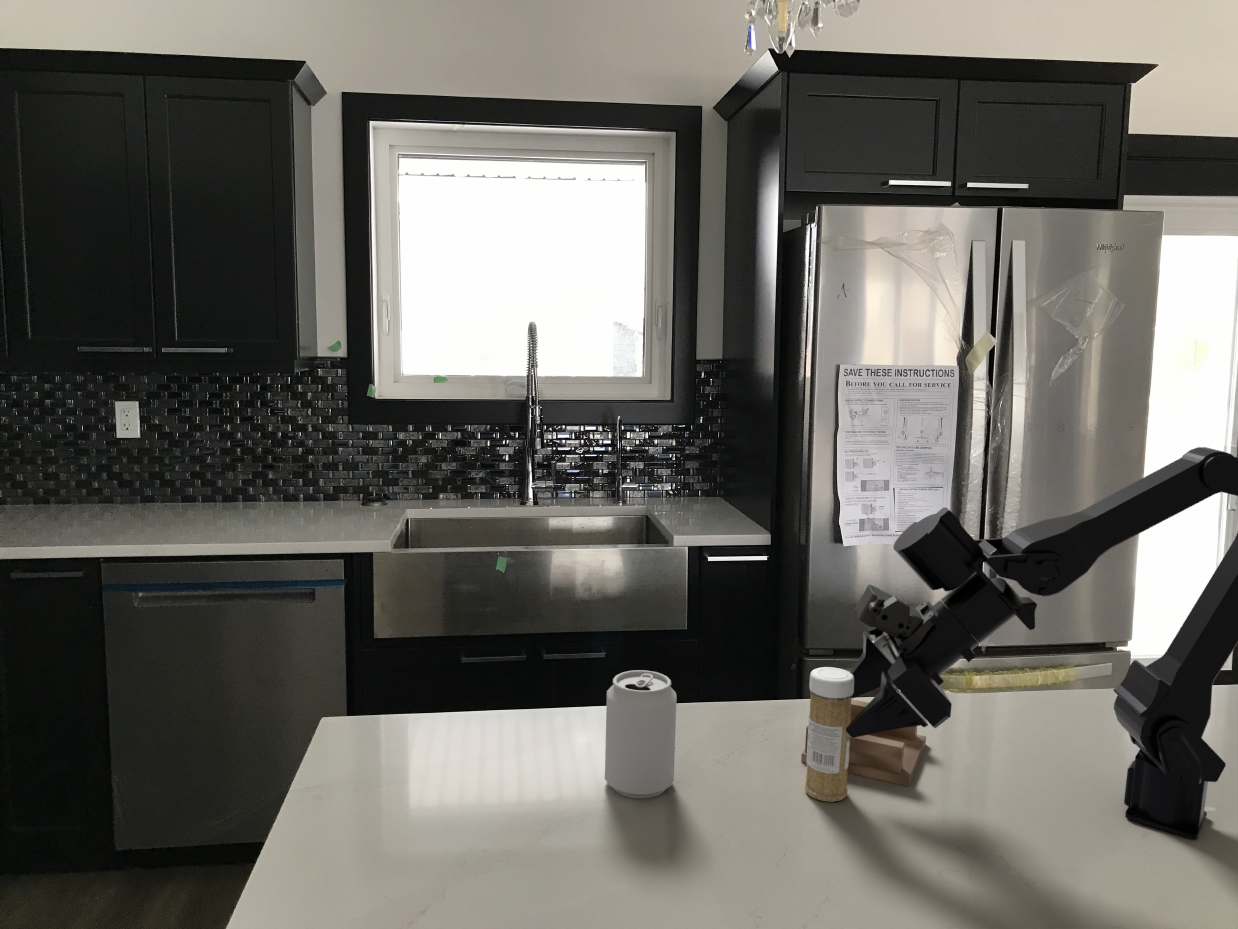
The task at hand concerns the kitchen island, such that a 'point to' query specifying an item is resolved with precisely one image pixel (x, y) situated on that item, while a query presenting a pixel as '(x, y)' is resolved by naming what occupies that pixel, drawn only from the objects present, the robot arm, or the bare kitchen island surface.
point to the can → (640, 734)
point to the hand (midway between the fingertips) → (842, 715)
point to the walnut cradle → (882, 752)
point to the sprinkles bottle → (828, 733)
